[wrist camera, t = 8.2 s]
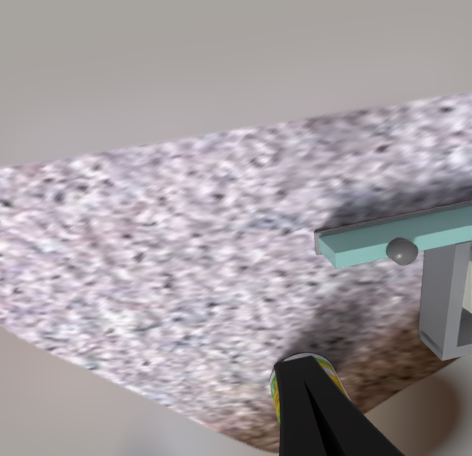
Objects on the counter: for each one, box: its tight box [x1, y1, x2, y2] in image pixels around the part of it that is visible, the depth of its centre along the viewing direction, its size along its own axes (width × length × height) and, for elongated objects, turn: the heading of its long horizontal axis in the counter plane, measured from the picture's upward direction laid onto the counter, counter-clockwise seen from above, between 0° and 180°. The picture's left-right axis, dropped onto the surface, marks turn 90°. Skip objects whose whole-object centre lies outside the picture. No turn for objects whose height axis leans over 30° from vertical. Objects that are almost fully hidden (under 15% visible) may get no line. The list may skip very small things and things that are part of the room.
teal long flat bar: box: [319, 206, 472, 269], centre depth 17 cm, size 13×1×3 cm, turn 101°
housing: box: [314, 200, 472, 361], centre depth 20 cm, size 18×11×2 cm, turn 101°
